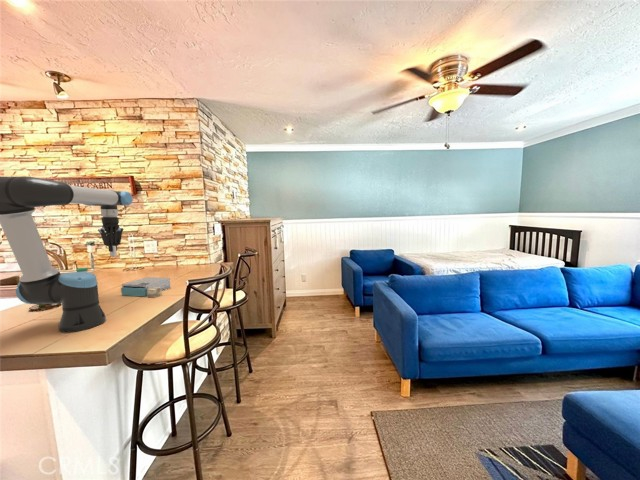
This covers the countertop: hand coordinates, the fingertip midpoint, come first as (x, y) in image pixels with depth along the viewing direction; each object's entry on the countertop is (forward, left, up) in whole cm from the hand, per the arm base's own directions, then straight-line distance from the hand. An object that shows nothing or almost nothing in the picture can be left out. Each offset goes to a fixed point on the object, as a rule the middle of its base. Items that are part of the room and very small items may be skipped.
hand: (113, 256), depth 145 cm
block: (+6, -20, -25) cm, 33 cm away
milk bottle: (-10, +11, -25) cm, 29 cm away
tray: (+13, -6, -25) cm, 28 cm away
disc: (+11, -6, -22) cm, 26 cm away
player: (+14, -6, -25) cm, 30 cm away
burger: (-20, +24, -26) cm, 40 cm away
